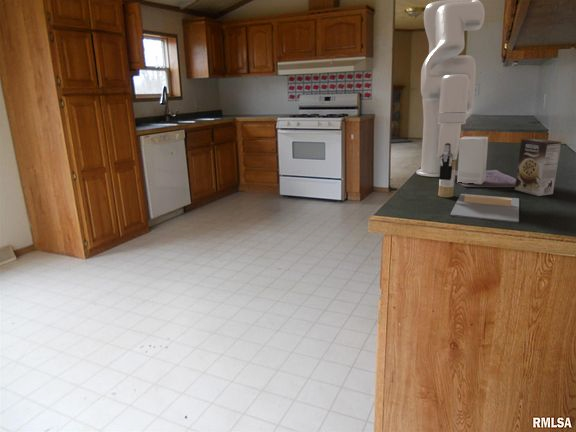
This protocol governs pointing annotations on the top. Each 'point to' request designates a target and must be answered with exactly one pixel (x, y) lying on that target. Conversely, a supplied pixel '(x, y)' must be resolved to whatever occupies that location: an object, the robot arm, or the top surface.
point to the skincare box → (472, 159)
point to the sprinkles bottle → (448, 182)
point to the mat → (487, 208)
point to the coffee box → (537, 166)
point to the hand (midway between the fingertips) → (447, 176)
